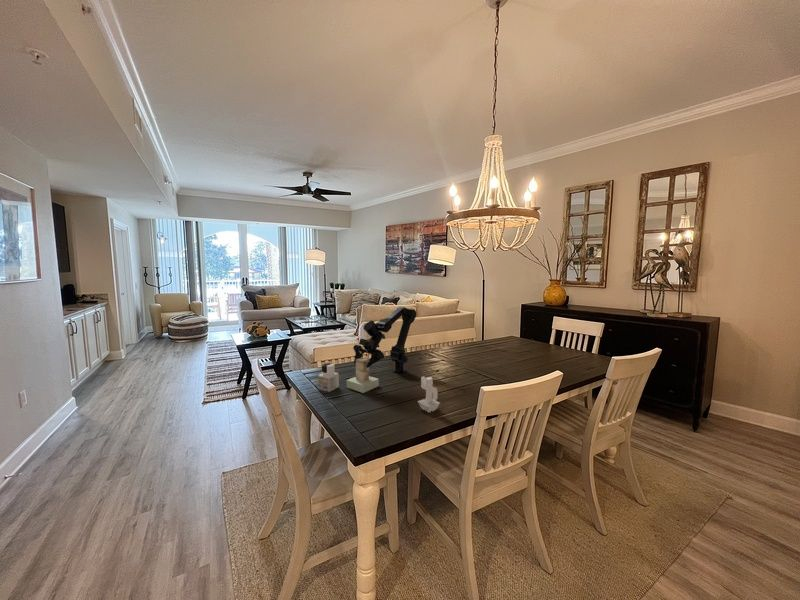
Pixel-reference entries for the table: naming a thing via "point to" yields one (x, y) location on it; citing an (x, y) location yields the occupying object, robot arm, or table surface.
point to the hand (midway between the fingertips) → (360, 365)
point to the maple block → (362, 369)
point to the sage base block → (362, 384)
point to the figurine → (429, 395)
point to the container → (328, 378)
